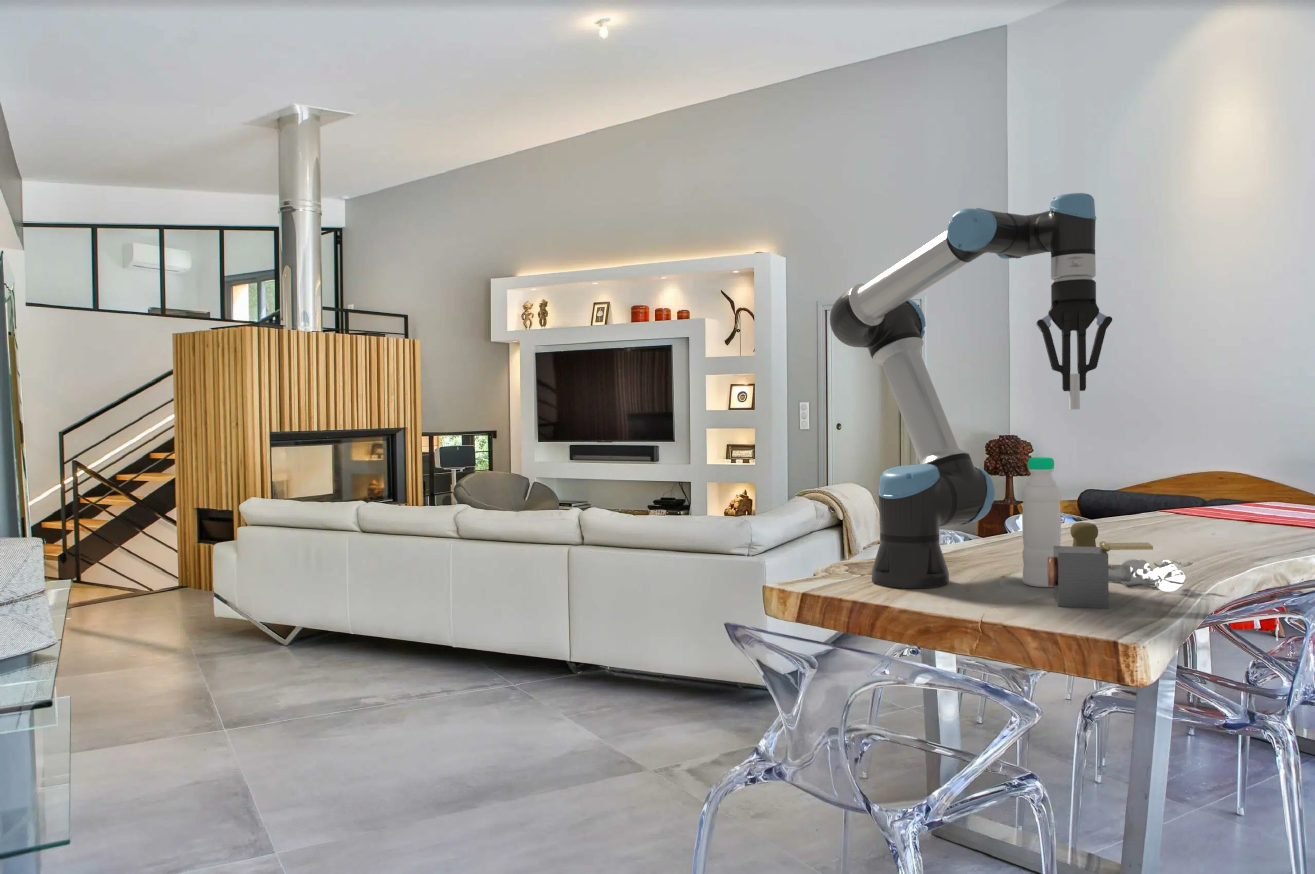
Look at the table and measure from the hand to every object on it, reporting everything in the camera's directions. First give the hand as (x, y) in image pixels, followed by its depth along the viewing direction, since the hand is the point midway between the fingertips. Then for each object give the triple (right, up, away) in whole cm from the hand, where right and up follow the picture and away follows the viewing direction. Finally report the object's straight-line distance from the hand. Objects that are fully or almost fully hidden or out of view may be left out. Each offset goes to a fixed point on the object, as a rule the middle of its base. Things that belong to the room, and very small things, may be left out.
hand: (1074, 409), depth 175 cm
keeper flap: (+6, -25, -8) cm, 27 cm away
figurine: (+18, -34, +6) cm, 39 cm away
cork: (+11, -34, +20) cm, 41 cm away
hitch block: (-1, -35, -6) cm, 35 cm away
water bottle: (-1, -34, +12) cm, 36 cm away
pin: (0, -32, -6) cm, 32 cm away
